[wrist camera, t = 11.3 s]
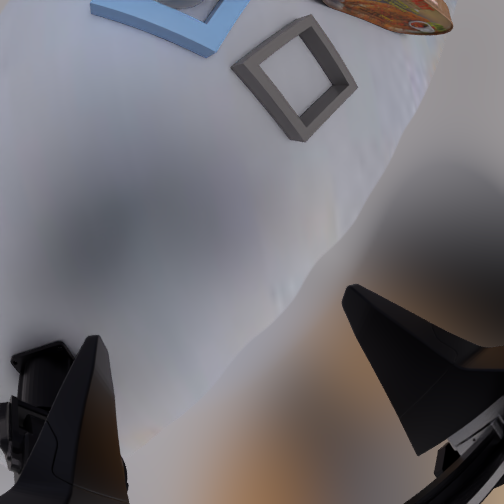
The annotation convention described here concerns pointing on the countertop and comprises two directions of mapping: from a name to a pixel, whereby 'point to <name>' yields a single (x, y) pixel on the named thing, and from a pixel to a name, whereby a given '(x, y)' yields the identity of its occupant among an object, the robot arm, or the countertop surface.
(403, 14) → the tin
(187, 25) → the blue bezel socket
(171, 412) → the countertop surface
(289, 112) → the gray socket
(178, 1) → the cream canister charcoal lid
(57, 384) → the robot arm
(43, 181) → the countertop surface
